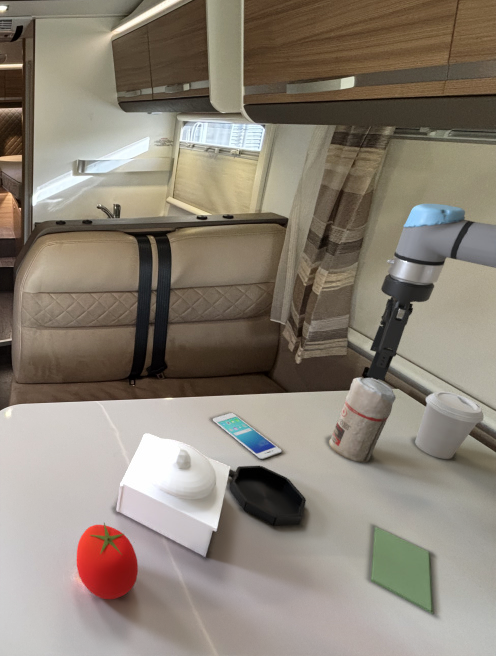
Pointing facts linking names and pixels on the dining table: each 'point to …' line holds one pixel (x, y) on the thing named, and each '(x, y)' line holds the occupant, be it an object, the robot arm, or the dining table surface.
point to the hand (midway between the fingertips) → (376, 364)
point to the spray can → (362, 419)
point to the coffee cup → (447, 423)
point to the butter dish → (174, 491)
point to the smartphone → (247, 436)
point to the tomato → (106, 562)
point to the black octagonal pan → (267, 495)
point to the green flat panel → (402, 569)
